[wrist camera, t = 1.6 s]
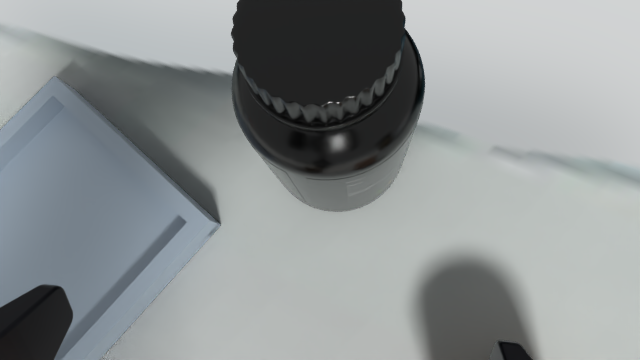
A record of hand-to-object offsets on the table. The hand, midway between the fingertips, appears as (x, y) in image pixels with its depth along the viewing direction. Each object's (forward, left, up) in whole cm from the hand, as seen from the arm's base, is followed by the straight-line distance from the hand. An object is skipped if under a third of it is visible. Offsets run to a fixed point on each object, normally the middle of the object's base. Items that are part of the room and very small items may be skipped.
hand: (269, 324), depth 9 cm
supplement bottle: (+4, -6, -13) cm, 16 cm away
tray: (+12, +7, -13) cm, 19 cm away
